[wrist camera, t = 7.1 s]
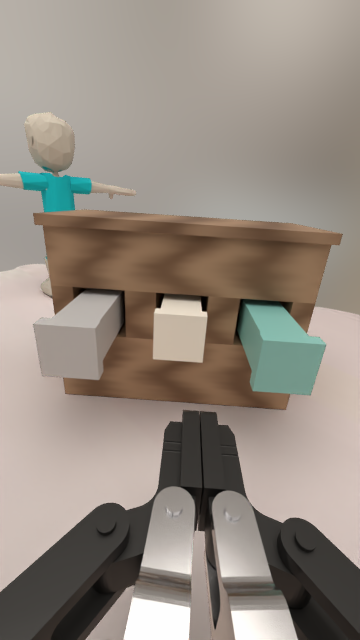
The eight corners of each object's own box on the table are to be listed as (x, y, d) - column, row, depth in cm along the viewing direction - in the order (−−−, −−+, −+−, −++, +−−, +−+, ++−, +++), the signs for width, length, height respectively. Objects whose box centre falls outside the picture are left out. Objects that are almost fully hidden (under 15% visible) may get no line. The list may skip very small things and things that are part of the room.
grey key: (42, 375, 18) (33, 323, 16) (87, 322, 26) (84, 283, 25) (98, 380, 18) (95, 328, 16) (127, 324, 26) (126, 286, 25)
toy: (123, 278, 67) (120, 136, 55) (142, 289, 60) (143, 129, 48) (-27, 295, 50) (-79, 95, 38) (-25, 313, 43) (-87, 76, 31)
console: (59, 395, 27) (33, 213, 20) (95, 343, 37) (85, 209, 30) (291, 412, 27) (342, 234, 20) (263, 355, 36) (292, 223, 30)
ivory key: (152, 359, 21) (154, 313, 19) (163, 315, 29) (164, 280, 27) (202, 362, 21) (207, 317, 19) (199, 317, 29) (202, 283, 27)
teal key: (252, 391, 18) (263, 340, 16) (233, 332, 26) (239, 294, 24) (310, 395, 18) (326, 344, 16) (273, 335, 26) (281, 297, 24)
